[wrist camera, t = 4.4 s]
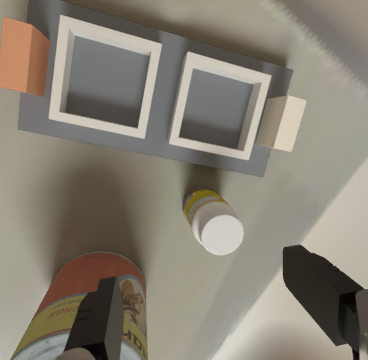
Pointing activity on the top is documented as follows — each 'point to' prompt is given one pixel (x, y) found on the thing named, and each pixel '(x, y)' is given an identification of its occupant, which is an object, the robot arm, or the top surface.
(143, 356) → the canned food
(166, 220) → the top surface
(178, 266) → the top surface
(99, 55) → the holder board
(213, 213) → the supplement bottle
